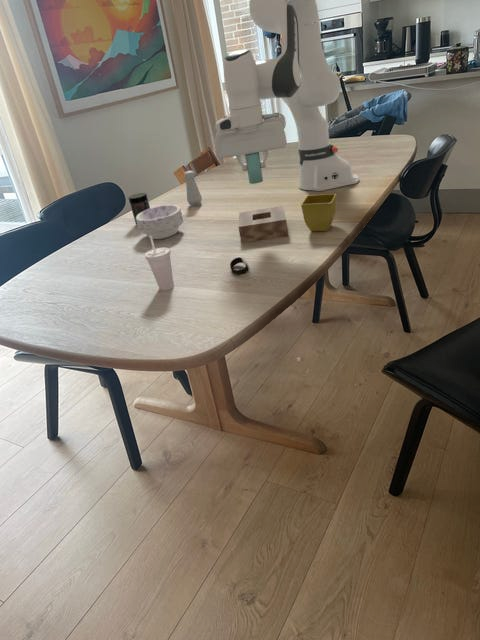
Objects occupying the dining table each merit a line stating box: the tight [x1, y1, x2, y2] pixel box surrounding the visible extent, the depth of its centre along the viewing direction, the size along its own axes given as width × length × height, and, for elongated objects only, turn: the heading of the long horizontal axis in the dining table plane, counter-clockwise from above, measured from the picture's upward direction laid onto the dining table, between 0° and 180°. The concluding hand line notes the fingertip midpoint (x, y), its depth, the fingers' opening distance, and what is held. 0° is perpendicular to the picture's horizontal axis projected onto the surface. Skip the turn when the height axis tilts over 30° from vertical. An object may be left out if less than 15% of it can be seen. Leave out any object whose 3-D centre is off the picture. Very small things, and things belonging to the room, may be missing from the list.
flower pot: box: [301, 193, 337, 232], centre depth 137 cm, size 9×9×9 cm
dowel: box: [244, 152, 264, 185], centre depth 136 cm, size 4×4×8 cm
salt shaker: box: [183, 170, 203, 207], centre depth 183 cm, size 6×6×13 cm
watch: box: [229, 256, 250, 276], centre depth 122 cm, size 8×5×4 cm, turn 17°
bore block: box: [237, 205, 289, 244], centre depth 144 cm, size 14×14×5 cm
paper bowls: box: [136, 204, 184, 240], centre depth 158 cm, size 15×15×8 cm
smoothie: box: [144, 236, 175, 291], centre depth 117 cm, size 6×6×14 cm
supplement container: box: [127, 192, 151, 226], centre depth 173 cm, size 7×7×10 cm
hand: (254, 169), depth 136 cm, fingers closed on dowel, 4 cm apart
